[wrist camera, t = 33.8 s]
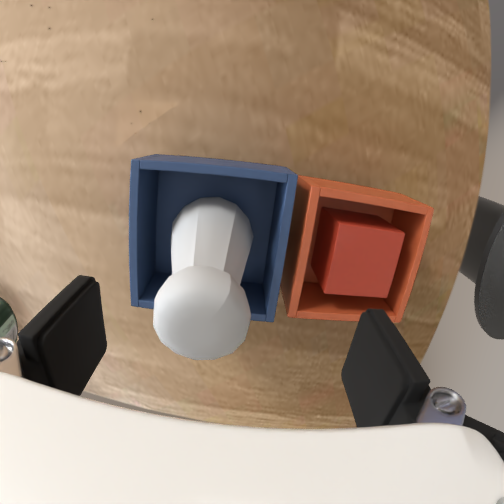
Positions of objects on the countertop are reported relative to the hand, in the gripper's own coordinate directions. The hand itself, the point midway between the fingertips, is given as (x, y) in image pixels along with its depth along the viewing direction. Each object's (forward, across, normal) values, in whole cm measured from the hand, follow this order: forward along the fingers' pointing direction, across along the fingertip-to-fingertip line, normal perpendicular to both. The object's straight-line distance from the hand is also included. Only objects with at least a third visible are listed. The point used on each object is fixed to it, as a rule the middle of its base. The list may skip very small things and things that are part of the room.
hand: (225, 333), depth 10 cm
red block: (+15, -9, 0) cm, 17 cm away
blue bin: (+15, +2, 0) cm, 15 cm away
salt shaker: (+15, +2, 0) cm, 15 cm away
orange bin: (+16, -8, 0) cm, 18 cm away
